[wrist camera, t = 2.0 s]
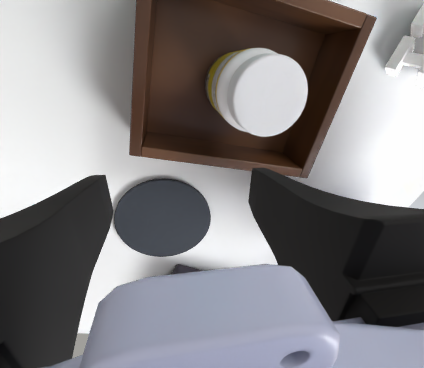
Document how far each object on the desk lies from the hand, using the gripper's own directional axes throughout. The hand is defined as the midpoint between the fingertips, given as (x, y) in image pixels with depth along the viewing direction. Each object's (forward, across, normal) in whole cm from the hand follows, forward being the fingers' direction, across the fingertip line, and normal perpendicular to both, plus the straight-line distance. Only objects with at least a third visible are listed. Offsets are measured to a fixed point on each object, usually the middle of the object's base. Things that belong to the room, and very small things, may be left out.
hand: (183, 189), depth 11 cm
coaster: (+10, +2, +10) cm, 14 cm away
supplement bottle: (+10, -5, -4) cm, 12 cm away
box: (+10, -5, -4) cm, 12 cm away
